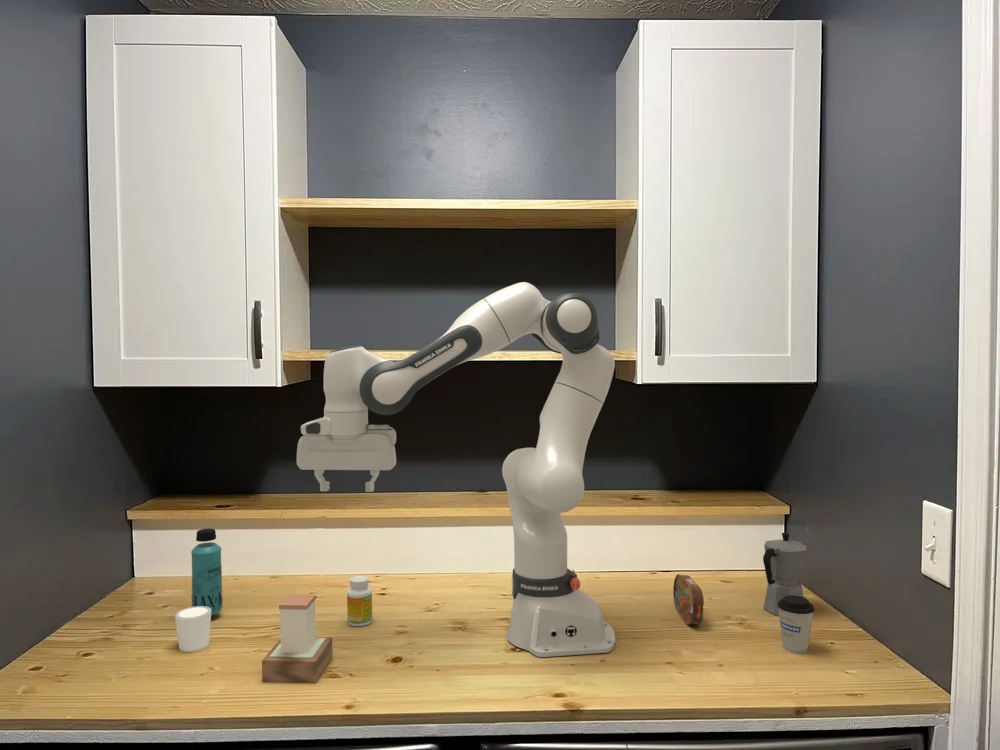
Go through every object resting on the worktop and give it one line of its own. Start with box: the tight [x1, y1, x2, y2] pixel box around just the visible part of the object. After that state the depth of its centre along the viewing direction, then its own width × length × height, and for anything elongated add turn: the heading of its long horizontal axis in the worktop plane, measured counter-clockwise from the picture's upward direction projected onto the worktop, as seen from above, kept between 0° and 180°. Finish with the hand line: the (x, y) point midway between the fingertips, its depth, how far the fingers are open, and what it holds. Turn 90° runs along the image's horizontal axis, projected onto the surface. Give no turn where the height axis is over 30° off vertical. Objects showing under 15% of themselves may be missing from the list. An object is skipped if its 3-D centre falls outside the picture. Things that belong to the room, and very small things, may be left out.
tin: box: [672, 574, 705, 625], centre depth 153 cm, size 15×3×8 cm, turn 1°
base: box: [261, 636, 334, 684], centre depth 130 cm, size 10×10×4 cm
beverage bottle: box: [190, 528, 224, 616], centre depth 154 cm, size 6×7×20 cm
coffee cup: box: [777, 595, 816, 655], centre depth 137 cm, size 7×7×10 cm
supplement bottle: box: [346, 575, 373, 627], centre depth 151 cm, size 5×5×10 cm
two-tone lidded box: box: [278, 594, 317, 653], centre depth 130 cm, size 5×5×9 cm
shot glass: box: [174, 606, 212, 653], centre depth 140 cm, size 7×7×7 cm
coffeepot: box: [762, 531, 808, 617], centre depth 156 cm, size 15×9×18 cm, turn 129°
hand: (347, 490), depth 142 cm, fingers open, 8 cm apart
